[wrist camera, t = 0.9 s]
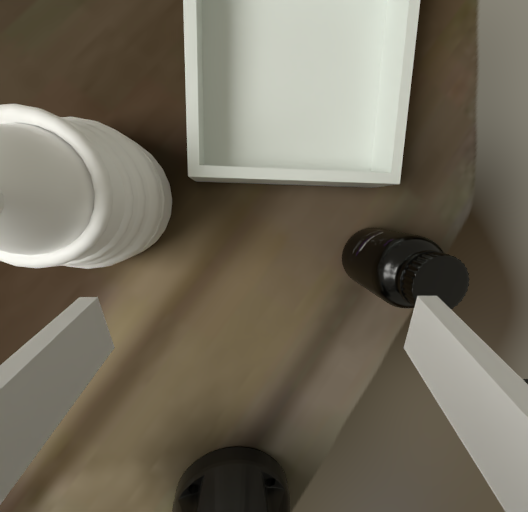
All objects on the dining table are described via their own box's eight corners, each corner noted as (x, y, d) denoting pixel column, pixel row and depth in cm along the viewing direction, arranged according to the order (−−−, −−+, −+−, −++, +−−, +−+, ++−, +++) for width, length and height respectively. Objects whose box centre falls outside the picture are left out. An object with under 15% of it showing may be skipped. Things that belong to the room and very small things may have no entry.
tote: (373, 187, 31) (399, 184, 26) (196, 181, 28) (187, 176, 24) (392, -15, 27) (427, -64, 22) (191, -40, 25) (180, -100, 20)
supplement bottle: (349, 221, 31) (419, 229, 19) (401, 235, 32) (497, 251, 20) (332, 276, 32) (388, 316, 20) (383, 288, 33) (463, 333, 21)
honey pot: (184, 156, 28) (97, 69, 10) (158, 271, 30) (46, 363, 12) (53, 115, 26) (-328, -77, 8) (34, 240, 28) (-311, 298, 10)
